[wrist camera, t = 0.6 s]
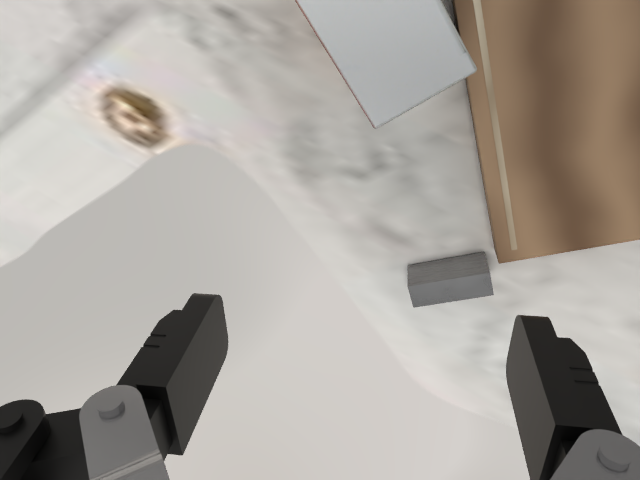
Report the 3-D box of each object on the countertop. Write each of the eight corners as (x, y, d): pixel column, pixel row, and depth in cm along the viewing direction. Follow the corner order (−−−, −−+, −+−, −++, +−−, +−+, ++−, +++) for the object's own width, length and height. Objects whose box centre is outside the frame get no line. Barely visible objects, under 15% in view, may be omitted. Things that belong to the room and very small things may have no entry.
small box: (316, -27, 31) (280, -18, 22) (396, -86, 29) (392, -104, 20) (381, 85, 34) (373, 133, 25) (458, 38, 32) (479, 72, 23)
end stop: (484, 251, 39) (489, 272, 36) (487, 272, 40) (493, 294, 37) (407, 265, 41) (407, 286, 38) (412, 285, 42) (413, 307, 39)
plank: (629, -182, 26) (646, -192, 24) (639, 224, 36) (651, 238, 34) (433, -108, 28) (435, -113, 27) (494, 249, 39) (499, 264, 37)
